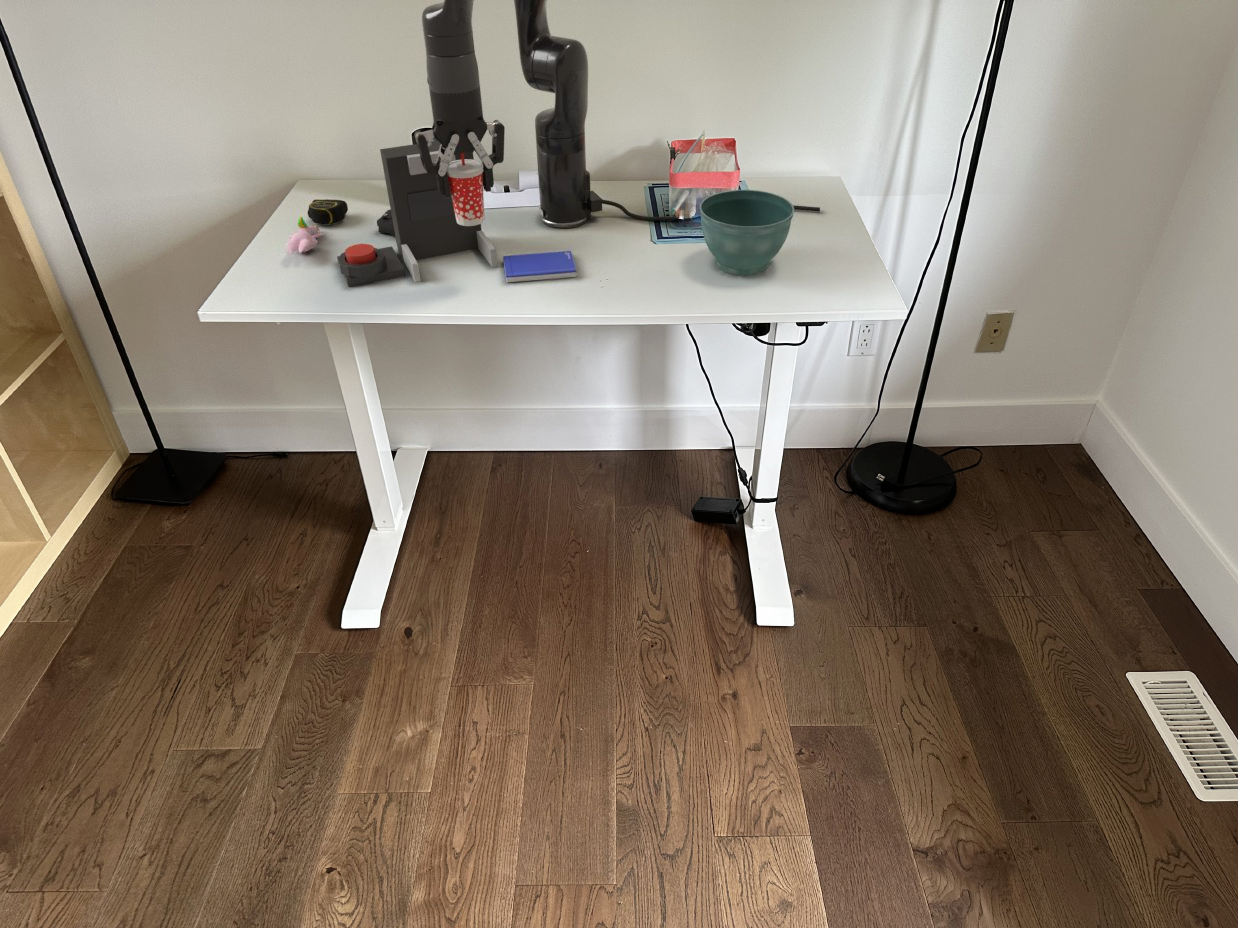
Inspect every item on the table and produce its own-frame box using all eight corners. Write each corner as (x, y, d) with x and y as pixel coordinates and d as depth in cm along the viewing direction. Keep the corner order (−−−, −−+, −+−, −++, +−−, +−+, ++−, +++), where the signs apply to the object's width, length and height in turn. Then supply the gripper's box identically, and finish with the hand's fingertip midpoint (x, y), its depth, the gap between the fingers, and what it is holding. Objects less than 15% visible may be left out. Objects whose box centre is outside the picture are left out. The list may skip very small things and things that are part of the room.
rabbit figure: (296, 241, 168) (280, 263, 155) (290, 210, 165) (272, 230, 152) (329, 239, 168) (315, 261, 155) (323, 208, 165) (309, 228, 153)
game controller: (407, 236, 164) (382, 213, 162) (392, 253, 167) (367, 230, 165) (426, 215, 171) (402, 193, 169) (411, 232, 174) (387, 210, 172)
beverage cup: (479, 230, 139) (468, 142, 130) (445, 225, 141) (432, 138, 132) (495, 215, 144) (486, 129, 135) (462, 211, 145) (451, 125, 136)
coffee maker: (476, 237, 166) (464, 137, 154) (497, 266, 156) (486, 162, 144) (398, 251, 161) (379, 149, 149) (415, 282, 151) (397, 175, 139)
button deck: (393, 254, 160) (390, 236, 158) (406, 277, 153) (403, 259, 151) (336, 264, 157) (332, 246, 155) (346, 289, 150) (342, 270, 147)
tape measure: (351, 215, 174) (347, 197, 172) (340, 229, 169) (336, 210, 167) (317, 214, 175) (313, 196, 172) (306, 228, 169) (301, 210, 167)
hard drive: (571, 249, 158) (502, 254, 156) (576, 269, 151) (505, 275, 150) (571, 257, 159) (503, 263, 157) (576, 277, 152) (506, 283, 151)
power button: (373, 250, 154) (371, 241, 153) (378, 262, 151) (377, 253, 150) (344, 256, 153) (342, 246, 152) (349, 267, 149) (347, 258, 148)
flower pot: (685, 276, 153) (687, 218, 146) (711, 240, 164) (715, 184, 158) (774, 292, 148) (782, 232, 141) (795, 253, 160) (803, 196, 153)
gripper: (412, 96, 124) (428, 209, 134) (508, 84, 128) (517, 194, 139) (400, 83, 129) (417, 192, 140) (493, 71, 134) (502, 178, 144)
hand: (467, 193), depth 139 cm, fingers closed on beverage cup, 6 cm apart
